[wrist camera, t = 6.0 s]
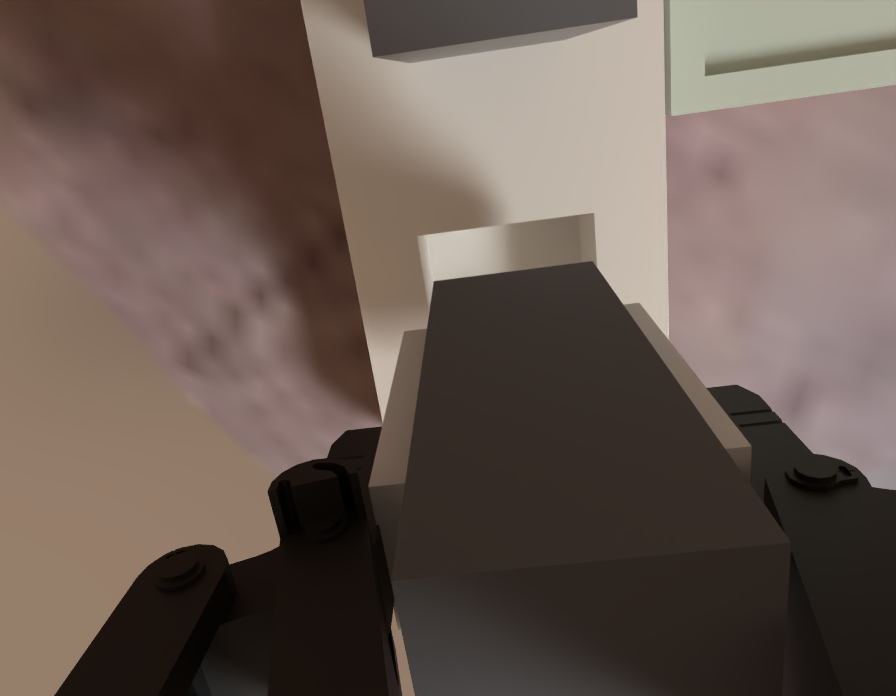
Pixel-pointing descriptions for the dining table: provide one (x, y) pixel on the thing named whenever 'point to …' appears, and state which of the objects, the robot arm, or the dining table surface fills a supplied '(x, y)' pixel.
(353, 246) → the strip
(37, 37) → the dining table surface
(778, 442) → the robot arm
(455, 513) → the plug
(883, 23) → the tray
